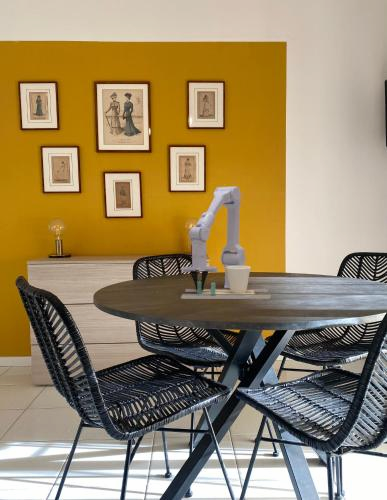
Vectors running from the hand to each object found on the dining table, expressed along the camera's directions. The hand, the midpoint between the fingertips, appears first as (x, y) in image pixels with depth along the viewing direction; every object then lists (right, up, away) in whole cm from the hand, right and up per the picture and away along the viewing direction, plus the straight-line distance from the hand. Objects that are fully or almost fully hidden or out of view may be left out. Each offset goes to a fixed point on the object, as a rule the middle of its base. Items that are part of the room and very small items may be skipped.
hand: (199, 289), depth 203 cm
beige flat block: (+11, -2, -1) cm, 11 cm away
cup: (+16, -2, -1) cm, 16 cm away
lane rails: (+10, -2, -3) cm, 11 cm away
